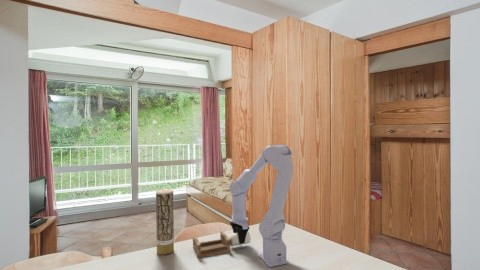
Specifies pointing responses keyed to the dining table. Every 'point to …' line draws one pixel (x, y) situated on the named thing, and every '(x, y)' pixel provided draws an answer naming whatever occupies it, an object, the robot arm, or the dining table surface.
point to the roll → (235, 241)
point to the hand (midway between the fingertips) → (239, 240)
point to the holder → (211, 246)
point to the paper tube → (164, 221)
